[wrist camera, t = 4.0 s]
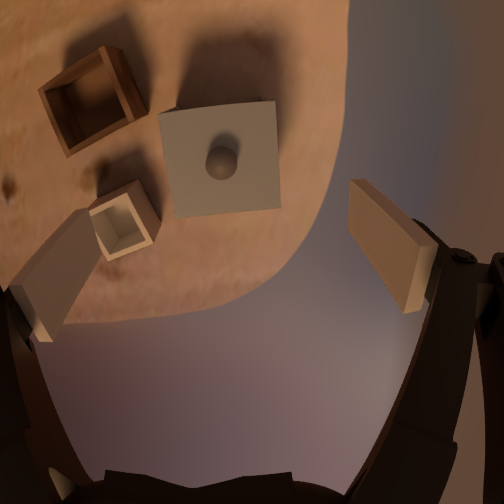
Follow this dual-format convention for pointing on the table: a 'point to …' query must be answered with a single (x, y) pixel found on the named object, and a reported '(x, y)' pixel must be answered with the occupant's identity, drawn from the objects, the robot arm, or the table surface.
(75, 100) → the walnut bin
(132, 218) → the beige tub
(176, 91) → the table surface
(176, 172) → the cover
